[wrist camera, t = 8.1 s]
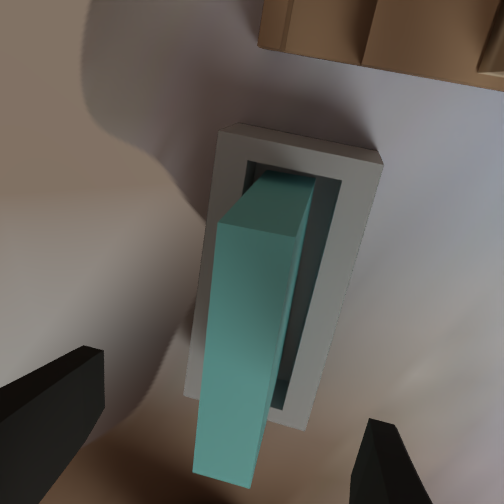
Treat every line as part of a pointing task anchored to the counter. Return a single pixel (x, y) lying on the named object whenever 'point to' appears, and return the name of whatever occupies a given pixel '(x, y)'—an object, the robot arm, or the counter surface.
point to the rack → (388, 35)
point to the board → (249, 321)
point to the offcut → (495, 49)
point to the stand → (313, 253)
